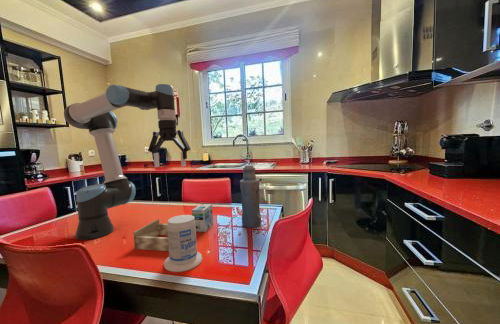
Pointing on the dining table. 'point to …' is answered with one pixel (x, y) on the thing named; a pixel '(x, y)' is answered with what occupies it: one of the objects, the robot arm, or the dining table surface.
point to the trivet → (183, 267)
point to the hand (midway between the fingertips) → (170, 166)
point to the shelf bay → (152, 237)
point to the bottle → (250, 198)
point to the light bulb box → (203, 217)
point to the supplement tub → (182, 239)
